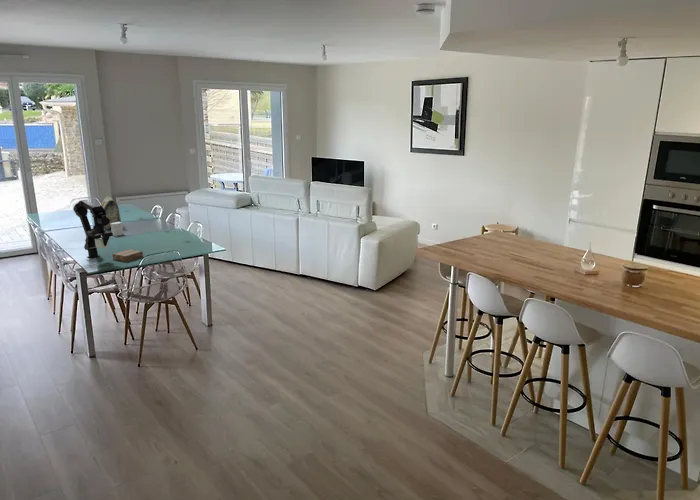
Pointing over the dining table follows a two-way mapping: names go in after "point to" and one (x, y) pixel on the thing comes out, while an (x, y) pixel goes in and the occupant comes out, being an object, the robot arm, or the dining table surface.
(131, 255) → the walnut block
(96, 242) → the sage cube
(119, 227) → the small box
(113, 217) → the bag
